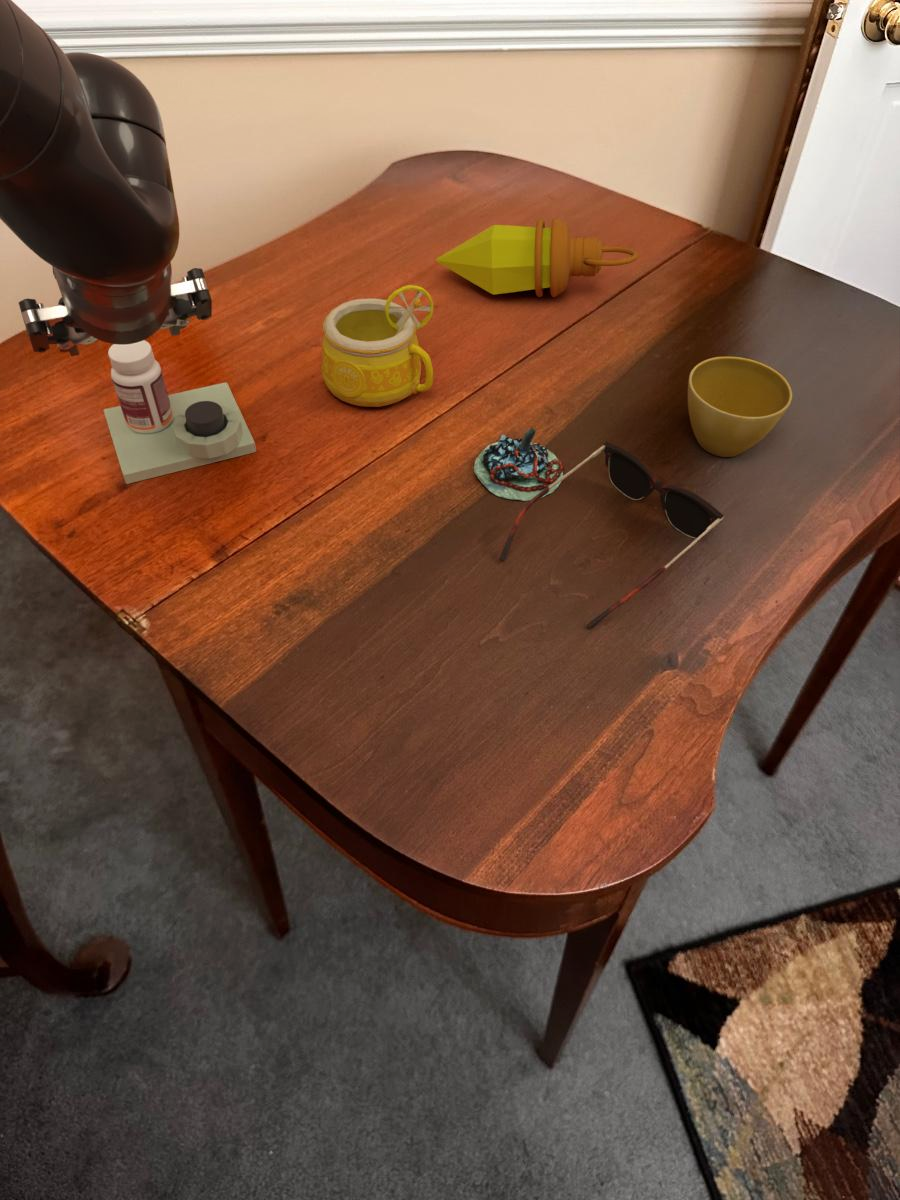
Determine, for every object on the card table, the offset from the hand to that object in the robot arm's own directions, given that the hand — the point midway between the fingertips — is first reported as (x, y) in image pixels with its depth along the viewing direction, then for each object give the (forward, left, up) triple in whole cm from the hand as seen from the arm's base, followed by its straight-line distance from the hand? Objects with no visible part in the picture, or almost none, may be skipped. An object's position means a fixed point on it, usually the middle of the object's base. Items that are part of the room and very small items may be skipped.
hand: (122, 333), depth 76 cm
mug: (+25, +3, -15) cm, 29 cm away
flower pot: (+55, -18, -15) cm, 60 cm away
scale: (+3, +4, -15) cm, 15 cm away
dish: (+33, -15, -15) cm, 39 cm away
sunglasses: (+35, -28, -15) cm, 47 cm away
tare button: (+5, 0, -12) cm, 13 cm away
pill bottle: (0, +5, -14) cm, 15 cm away
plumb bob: (+50, +16, -15) cm, 54 cm away
